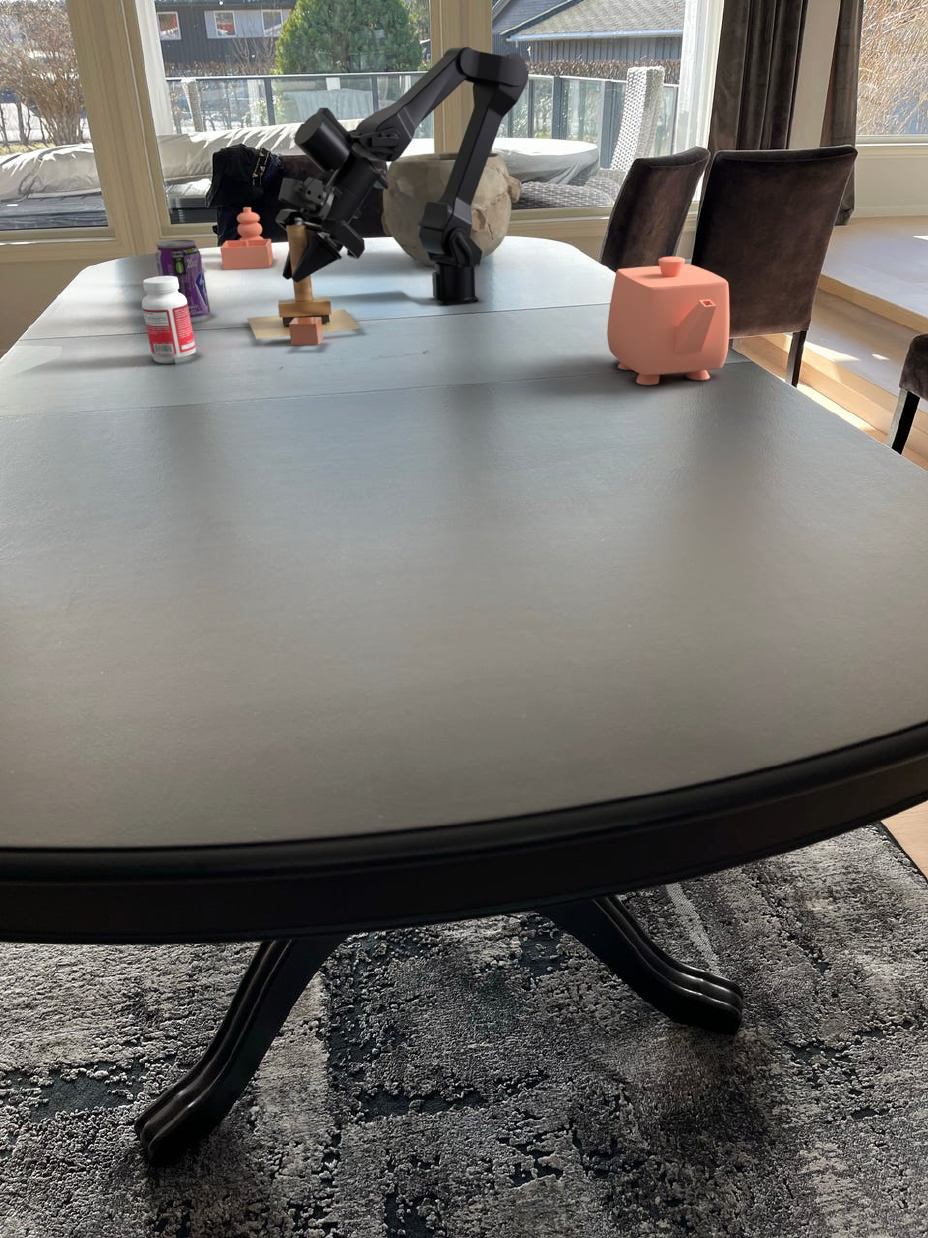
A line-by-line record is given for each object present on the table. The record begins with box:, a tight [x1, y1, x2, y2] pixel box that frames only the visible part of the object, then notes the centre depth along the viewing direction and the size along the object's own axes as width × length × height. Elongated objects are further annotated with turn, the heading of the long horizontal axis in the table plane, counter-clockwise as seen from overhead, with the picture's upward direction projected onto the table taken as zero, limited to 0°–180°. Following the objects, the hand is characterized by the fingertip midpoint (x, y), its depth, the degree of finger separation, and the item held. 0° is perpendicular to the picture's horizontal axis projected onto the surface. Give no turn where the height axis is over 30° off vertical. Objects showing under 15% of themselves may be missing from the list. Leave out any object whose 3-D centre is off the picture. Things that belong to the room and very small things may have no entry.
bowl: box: [380, 151, 522, 268], centre depth 188 cm, size 27×29×20 cm
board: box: [247, 308, 361, 340], centre depth 149 cm, size 16×14×1 cm
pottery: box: [220, 206, 274, 271], centre depth 200 cm, size 18×10×10 cm, turn 5°
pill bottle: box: [141, 275, 197, 365], centre depth 133 cm, size 6×6×11 cm
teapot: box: [606, 256, 730, 386], centre depth 120 cm, size 22×13×14 cm, turn 12°
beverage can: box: [155, 238, 211, 319], centre depth 155 cm, size 7×7×12 cm
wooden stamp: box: [277, 225, 332, 325], centre depth 145 cm, size 8×5×14 cm, turn 99°
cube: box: [289, 317, 324, 346], centre depth 138 cm, size 4×4×4 cm
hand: (289, 279), depth 144 cm, fingers closed on wooden stamp, 3 cm apart
